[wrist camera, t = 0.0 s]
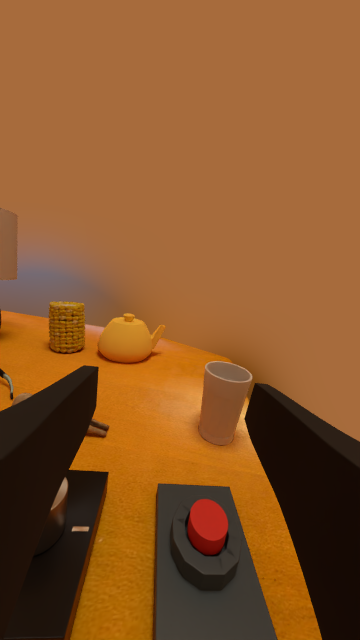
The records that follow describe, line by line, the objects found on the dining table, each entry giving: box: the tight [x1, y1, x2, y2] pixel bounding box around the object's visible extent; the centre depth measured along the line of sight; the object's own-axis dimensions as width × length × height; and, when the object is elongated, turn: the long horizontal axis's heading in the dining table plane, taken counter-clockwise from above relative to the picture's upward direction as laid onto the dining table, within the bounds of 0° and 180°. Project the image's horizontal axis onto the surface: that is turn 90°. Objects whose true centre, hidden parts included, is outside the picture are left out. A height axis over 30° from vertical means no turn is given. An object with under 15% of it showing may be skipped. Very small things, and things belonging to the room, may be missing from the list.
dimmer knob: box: [33, 477, 68, 556], centre depth 19 cm, size 4×4×4 cm
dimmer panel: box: [3, 470, 109, 640], centre depth 20 cm, size 12×9×3 cm
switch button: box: [187, 499, 228, 556], centre depth 21 cm, size 4×4×2 cm
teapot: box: [98, 314, 166, 363], centre depth 69 cm, size 20×19×13 cm
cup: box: [198, 361, 252, 445], centre depth 39 cm, size 8×8×12 cm
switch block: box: [153, 484, 277, 640], centre depth 21 cm, size 12×9×4 cm
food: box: [49, 301, 85, 353], centre depth 65 cm, size 15×12×10 cm
